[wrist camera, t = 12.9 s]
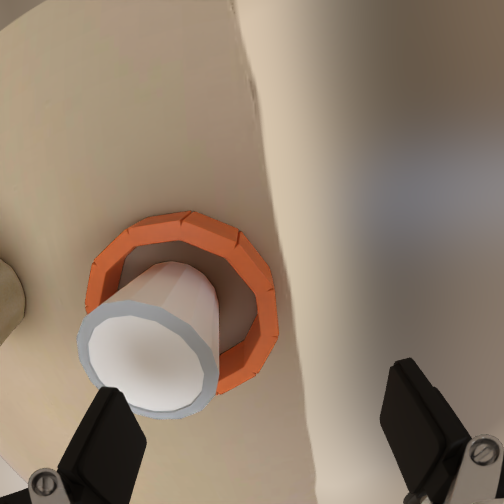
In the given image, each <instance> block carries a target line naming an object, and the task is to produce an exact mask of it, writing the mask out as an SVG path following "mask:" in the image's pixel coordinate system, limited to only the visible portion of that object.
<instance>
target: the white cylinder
mask: <svg viewBox="0 0 504 504" xmlns="http://www.w3.org/2000/svg"><path fill="white" fill-rule="evenodd" d="M77 346H78V354H79V360H80V362H81V364H82V366H83V368H84V370H85V372H86V373H87V375H88V377H89V379H90V381H91V382H92V383H93V384H94V385H95V386H96V387H97V388H98V389H100V388H101V387H103V386H104V387H116V388H118V389H119V391H121V392H123V394H124V396H125V398H126V400H127V402H128V404H129V406H130V408H131V410H132V412H133V413H135V414H138V415H142V416H146V417H149V418H153V419H181V418H184V417H187V416H189V415H192V414H194V413H197V412H199V411H202V409H203V408H204V407H205V406H206V405H207V404H208V403H209V402H210V401H211V400H212V398H213V397H214V396H215V394H216V389H217V384H218V379H219V303H218V299H217V295H216V291H215V288H214V287H213V285H212V284H211V283H210V281H209V280H208V279H207V277H206V276H205V275H204V274H203V273H201V272H200V271H198V270H197V269H195V268H193V267H192V266H190V265H189V264H184V263H179V262H174V261H168V262H163V263H158V264H154V265H153V266H151V267H150V268H149V269H147V270H146V271H145V272H143V273H142V274H141V275H139V276H138V277H136V278H135V279H134V280H132V281H131V282H130V283H128V284H127V285H126V286H124V287H123V288H122V289H120V290H119V291H118V292H116V293H115V294H114V295H113V296H111V297H110V298H109V299H107V300H106V301H105V302H103V303H102V304H101V305H100V306H98V307H97V308H96V309H94V310H93V311H92V312H91V313H89V314H88V315H87V316H85V317H84V319H83V321H82V324H81V327H80V329H79V332H78V335H77Z"/></svg>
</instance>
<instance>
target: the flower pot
mask: <svg viewBox="0 0 504 504" xmlns="http://www.w3.org/2000/svg"><path fill="white" fill-rule="evenodd" d="M24 308H25V296H24V292H23V289H22V286H21V284H20V281H19V279H18V277H17V275H16V274H15V272H14V270H13V269H12V268H11V266H9V265H8V264H6V263H4V262H3V261H2V260H1V259H0V346H1V345H2V344H3V342H4V341H5V340H6V338H7V337H8V336H9V335H10V334H11V332H12V331H13V330H14V329H15V328H16V326H17V325H18V324H19V323H20V322H21V321H22V319H23V318H24Z"/></svg>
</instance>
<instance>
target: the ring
mask: <svg viewBox="0 0 504 504" xmlns="http://www.w3.org/2000/svg"><path fill="white" fill-rule="evenodd" d="M177 240H181V241H183V242H186V243H188V244H191V245H193V246H196V247H198V248H201V249H203V250H205V251H208V252H210V253H213V254H215V255H218V256H220V257H223V258H225V259H226V260H227V261H228V262H229V263H230V265H231V266H232V267H233V268H234V270H235V271H236V272H237V273H238V274H239V276H240V277H241V278H242V279H243V281H244V282H245V283H246V284H247V285H248V287H249V288H250V289H251V290H252V291H253V293H254V294H255V296H256V304H257V311H258V314H257V316H256V318H255V320H254V322H253V324H252V326H251V328H250V330H249V332H248V334H247V336H246V338H245V340H244V341H242V342H241V343H239V344H237V345H236V346H234V347H232V348H231V349H229V350H228V351H226V352H224V353H223V354H221V355H219V379H218V384H217V389H216V394H215V395H218V393H219V394H220V395H221V394H223V393H225V392H227V391H229V390H231V389H233V388H234V387H236V386H238V385H240V384H242V383H244V382H245V381H247V380H249V379H251V378H253V377H255V376H256V373H259V371H260V370H261V368H262V366H263V364H264V363H265V361H266V359H267V357H268V356H269V354H270V352H271V350H272V348H273V347H274V345H275V343H276V341H277V340H278V335H279V328H278V318H277V308H276V298H275V289H274V284H273V279H272V274H271V271H270V268H269V266H268V265H267V263H266V262H265V261H264V260H263V258H262V257H261V256H260V254H259V253H258V252H257V251H256V249H255V248H254V247H253V245H252V244H251V243H250V242H249V240H248V239H247V238H246V237H245V235H244V234H243V233H242V231H240V232H238V229H237V228H235V227H232V226H230V225H227V224H225V223H222V222H220V221H218V220H215V219H213V218H210V217H208V216H205V215H203V214H200V213H198V212H195V211H193V212H192V213H191V211H185V212H178V213H171V214H165V215H159V216H153V217H147V218H145V219H143V220H141V221H139V222H138V223H136V224H134V225H132V226H130V227H129V228H127V229H125V230H124V231H123V232H122V233H121V234H120V235H119V236H118V237H117V238H116V239H114V240H113V241H112V242H111V243H110V244H109V245H108V246H107V247H106V248H105V249H104V250H103V251H102V252H101V253H100V254H99V255H98V256H97V257H96V258H95V259H94V262H93V263H92V266H91V271H90V277H89V282H88V287H87V293H86V299H85V305H87V306H86V307H85V308H86V311H87V314H89V313H91V312H92V311H93V310H94V309H96V308H97V307H98V306H100V305H101V304H102V303H103V302H105V301H106V300H107V299H109V298H110V297H111V296H113V295H114V294H115V293H116V292H118V290H117V289H118V284H119V280H120V276H121V272H122V268H123V265H124V261H125V257H126V256H127V255H128V254H129V253H131V252H132V251H133V250H134V249H135V248H136V247H137V246H141V245H148V244H155V243H162V242H170V241H177Z"/></svg>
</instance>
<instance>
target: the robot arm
mask: <svg viewBox="0 0 504 504" xmlns="http://www.w3.org/2000/svg"><path fill="white" fill-rule="evenodd" d="M380 424H381V427H382V429H383V431H384V434H385V435H386V438H387V440H388V443H389V445H390V447H391V449H392V452H393V454H394V456H395V458H396V461H397V464H398V466H399V468H400V471H401V473H402V475H403V478H404V480H405V483H406V485H407V488H408V490H409V492H410V493H411V494H412V493H415V496H416V498H419V497H422V496H423V497H422V498H421V500H420V504H504V449H503V446H502V443H501V442H500V441H499V439H497V438H496V437H494V436H491V435H487V434H482V435H479V436H476V437H474V438H473V439H472V438H471V436H470V435H469V433H468V432H467V430H466V429H465V428H464V426H463V424H462V423H461V421H460V420H459V418H458V417H457V416H456V414H455V413H454V411H453V410H452V408H451V407H450V405H449V404H448V403H447V401H446V400H445V398H444V397H443V396H442V394H441V393H440V391H439V390H438V389H437V388H436V387H433V386H432V385H431V383H430V382H429V381H428V379H427V378H426V377H425V375H424V374H423V372H422V371H421V370H420V368H419V367H418V365H417V364H416V363H415V361H414V360H413V359H412V358H407V359H402V360H399V361H396V362H395V363H394V366H392V367H390V370H389V376H388V381H387V386H386V391H385V396H384V401H383V405H382V410H381V414H380ZM146 445H147V441H146V437H145V435H144V433H143V431H142V430H141V428H140V426H139V424H138V422H137V420H136V418H135V416H134V414H133V412H132V410H131V408H130V406H129V404H128V402H127V400H126V398H125V396H124V394H123V392H121V391H119V389H118V388H116V387H104V386H103V387H101V388H100V389H99V391H98V393H97V394H96V396H95V398H94V400H93V401H92V403H91V405H90V407H89V408H88V410H87V412H86V414H85V416H84V417H83V419H82V421H81V423H80V425H79V427H78V428H77V430H76V432H75V434H74V436H73V438H72V440H71V441H70V443H69V445H68V447H67V449H66V451H65V453H64V455H63V457H62V459H61V461H60V463H59V465H58V470H57V472H56V471H55V470H53V469H50V468H42V469H39V470H37V471H35V472H34V473H33V474H32V475H31V477H30V478H29V481H28V488H26V489H24V490H21V491H18V492H15V493H13V494H9V495H6V496H3V497H0V504H129V502H130V499H131V495H132V492H133V488H134V485H135V481H136V478H137V475H138V471H139V468H140V465H141V461H142V458H143V455H144V452H145V448H146Z"/></svg>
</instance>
